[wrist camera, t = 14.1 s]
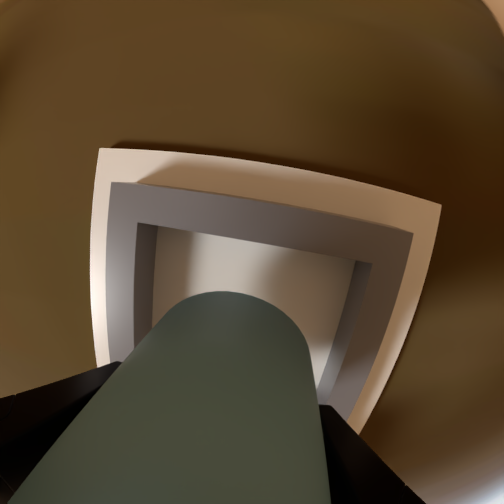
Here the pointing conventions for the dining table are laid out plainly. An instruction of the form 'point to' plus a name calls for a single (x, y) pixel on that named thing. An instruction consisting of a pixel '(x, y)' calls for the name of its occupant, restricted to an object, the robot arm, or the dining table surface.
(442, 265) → the dining table surface
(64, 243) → the dining table surface
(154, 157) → the tray
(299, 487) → the teal cylinder
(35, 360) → the dining table surface
